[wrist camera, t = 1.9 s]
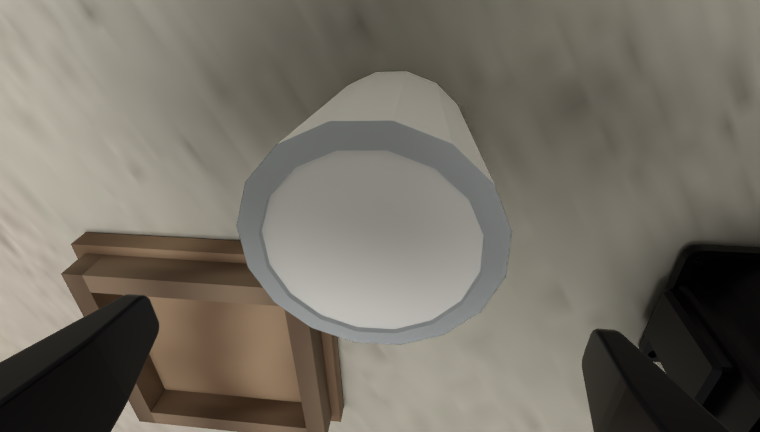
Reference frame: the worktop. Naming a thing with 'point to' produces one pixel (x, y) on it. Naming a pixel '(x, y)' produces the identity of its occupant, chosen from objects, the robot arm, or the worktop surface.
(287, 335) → the walnut holder
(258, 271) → the white cup
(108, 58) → the worktop surface
